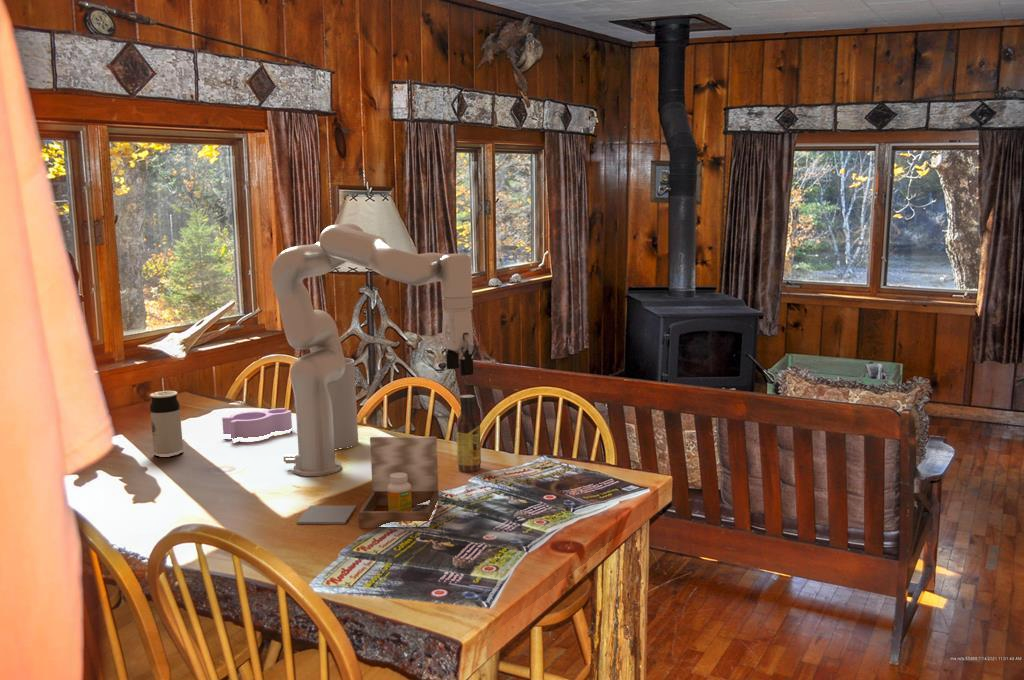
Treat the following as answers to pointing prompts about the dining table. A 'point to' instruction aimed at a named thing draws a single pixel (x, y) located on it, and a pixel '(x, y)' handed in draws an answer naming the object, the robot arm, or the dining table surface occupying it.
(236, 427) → the lilac molded tray
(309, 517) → the slate mat
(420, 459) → the open wooden keepsake box
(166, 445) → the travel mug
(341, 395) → the cylinder vase
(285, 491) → the dining table surface
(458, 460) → the sauce bottle
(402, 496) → the supplement bottle
